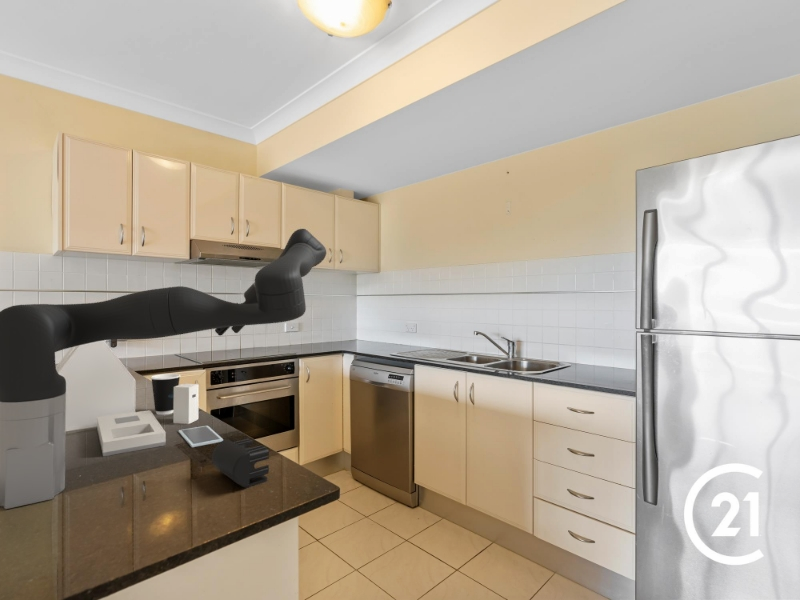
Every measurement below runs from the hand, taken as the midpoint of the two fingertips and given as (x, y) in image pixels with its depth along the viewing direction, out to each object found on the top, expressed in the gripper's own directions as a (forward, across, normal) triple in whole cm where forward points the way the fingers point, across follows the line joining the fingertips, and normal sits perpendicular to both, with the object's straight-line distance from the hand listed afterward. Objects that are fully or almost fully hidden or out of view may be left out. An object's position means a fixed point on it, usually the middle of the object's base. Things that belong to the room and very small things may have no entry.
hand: (226, 332), depth 117 cm
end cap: (+3, -33, -33) cm, 47 cm away
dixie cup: (+34, +7, -2) cm, 35 cm away
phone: (+18, -12, -18) cm, 28 cm away
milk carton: (+45, -4, +9) cm, 46 cm away
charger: (+26, 0, -10) cm, 28 cm away
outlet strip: (+30, -14, -5) cm, 34 cm away
